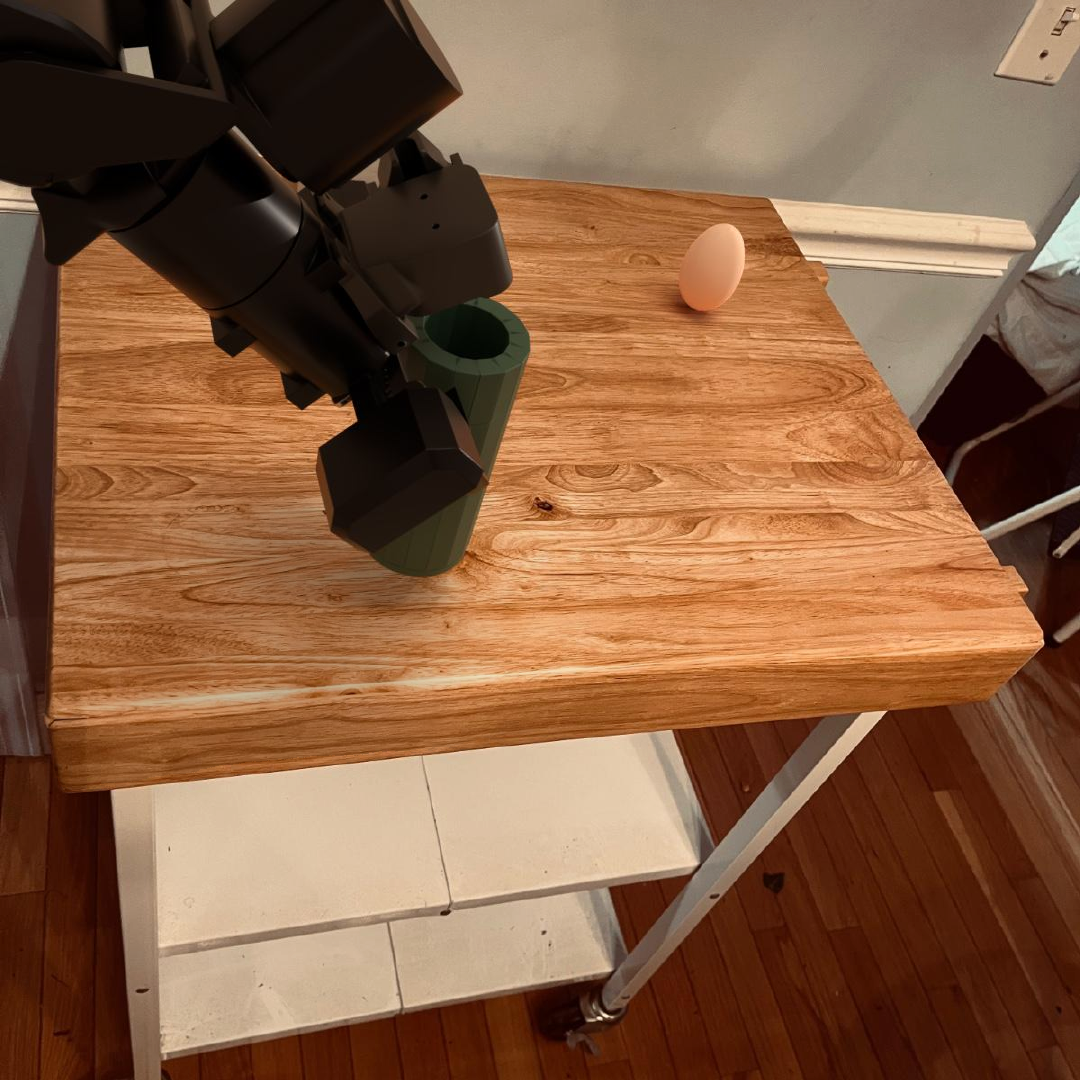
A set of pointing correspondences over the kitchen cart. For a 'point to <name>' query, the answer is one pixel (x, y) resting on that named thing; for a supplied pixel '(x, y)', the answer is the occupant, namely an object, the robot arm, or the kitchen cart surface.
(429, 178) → the robot arm
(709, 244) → the egg
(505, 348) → the hollow cylinder
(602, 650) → the kitchen cart surface
